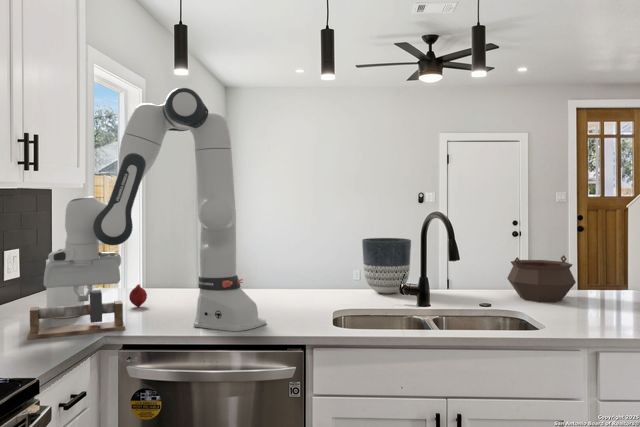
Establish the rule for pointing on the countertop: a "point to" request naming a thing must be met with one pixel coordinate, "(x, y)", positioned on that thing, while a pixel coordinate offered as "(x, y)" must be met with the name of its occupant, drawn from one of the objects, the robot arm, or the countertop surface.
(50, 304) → the cup
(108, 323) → the pipe rack
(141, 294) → the onion
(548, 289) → the brown cauldron
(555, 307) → the countertop surface
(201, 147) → the robot arm
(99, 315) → the collar
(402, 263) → the planter
